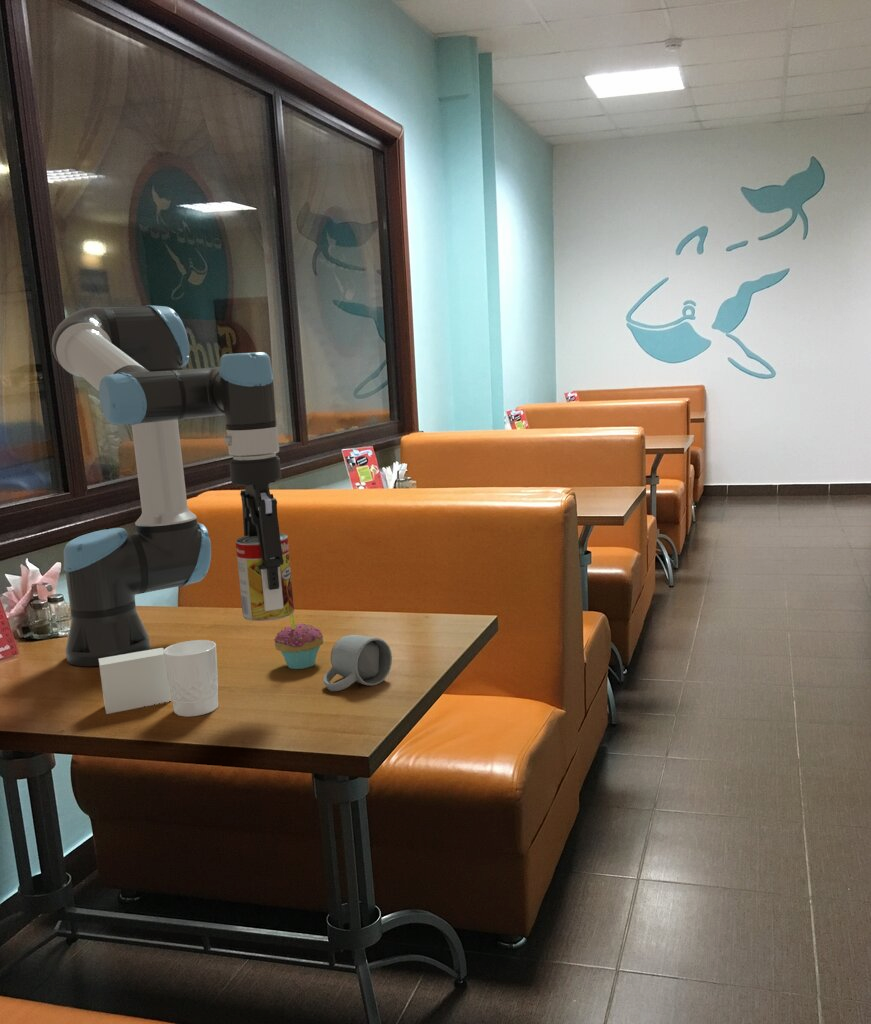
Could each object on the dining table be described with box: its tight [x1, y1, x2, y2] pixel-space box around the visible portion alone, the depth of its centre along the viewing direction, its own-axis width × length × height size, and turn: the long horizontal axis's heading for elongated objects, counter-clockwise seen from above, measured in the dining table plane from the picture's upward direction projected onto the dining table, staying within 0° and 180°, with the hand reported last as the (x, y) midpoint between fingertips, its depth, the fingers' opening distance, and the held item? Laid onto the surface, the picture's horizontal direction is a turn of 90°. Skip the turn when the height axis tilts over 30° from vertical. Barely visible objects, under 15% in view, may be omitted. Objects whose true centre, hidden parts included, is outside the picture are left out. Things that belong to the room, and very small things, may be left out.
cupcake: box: [274, 613, 324, 670], centre depth 165 cm, size 9×8×12 cm
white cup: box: [163, 639, 219, 718], centre depth 147 cm, size 8×8×10 cm
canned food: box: [235, 533, 295, 622], centre depth 146 cm, size 8×8×12 cm
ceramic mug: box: [323, 634, 393, 692], centre depth 155 cm, size 11×8×8 cm
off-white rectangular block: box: [99, 647, 173, 715], centre depth 151 cm, size 4×10×8 cm, turn 113°
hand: (267, 602), depth 146 cm, fingers closed on canned food, 8 cm apart
